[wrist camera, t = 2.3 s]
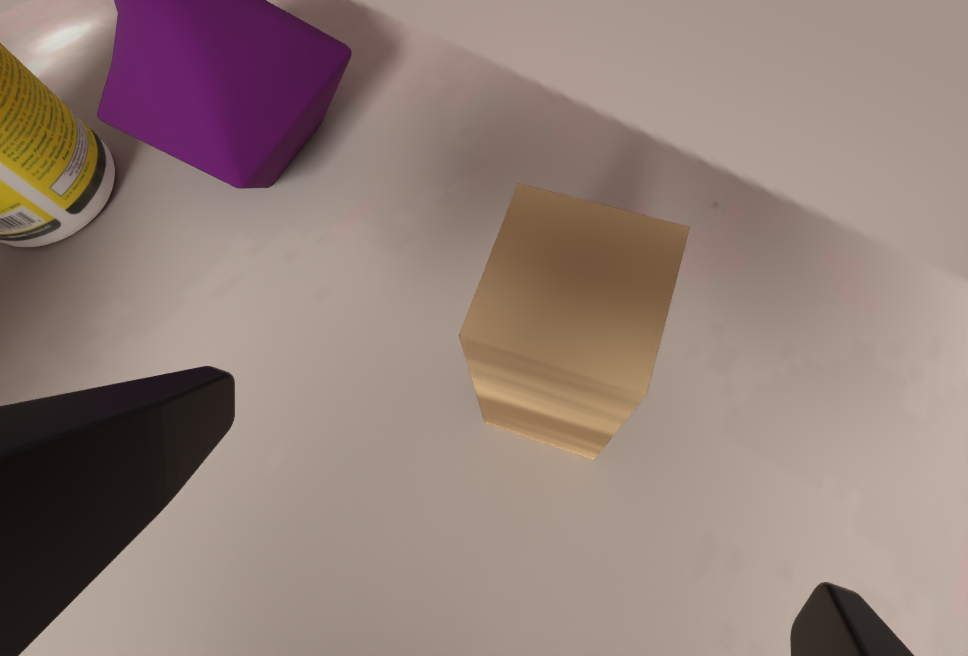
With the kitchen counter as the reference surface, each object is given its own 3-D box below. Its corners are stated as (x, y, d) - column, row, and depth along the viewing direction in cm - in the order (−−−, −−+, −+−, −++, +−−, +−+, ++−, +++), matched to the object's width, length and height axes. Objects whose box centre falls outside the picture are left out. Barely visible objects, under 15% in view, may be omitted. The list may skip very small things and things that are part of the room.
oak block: (594, 460, 20) (647, 393, 11) (485, 423, 20) (458, 335, 12) (623, 355, 21) (689, 226, 13) (519, 324, 22) (518, 183, 13)
